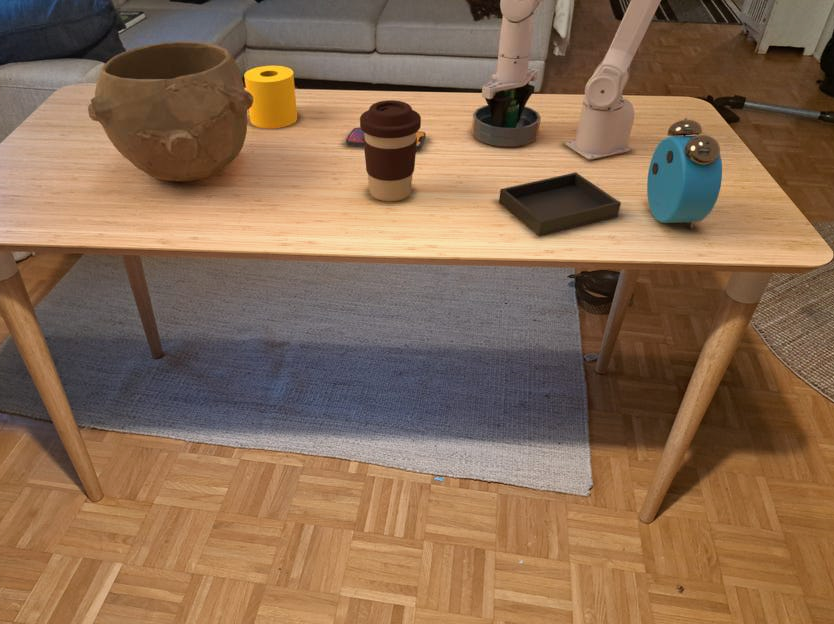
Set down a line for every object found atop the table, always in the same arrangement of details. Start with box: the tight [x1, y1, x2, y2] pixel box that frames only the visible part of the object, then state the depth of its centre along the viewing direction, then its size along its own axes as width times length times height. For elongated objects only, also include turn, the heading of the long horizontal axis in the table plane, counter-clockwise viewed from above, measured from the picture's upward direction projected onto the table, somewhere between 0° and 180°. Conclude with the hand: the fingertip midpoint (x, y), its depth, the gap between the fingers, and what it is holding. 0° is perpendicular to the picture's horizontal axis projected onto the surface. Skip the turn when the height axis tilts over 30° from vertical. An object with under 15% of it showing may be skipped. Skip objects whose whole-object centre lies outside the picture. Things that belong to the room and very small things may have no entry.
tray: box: [498, 171, 622, 237], centre depth 113 cm, size 15×12×2 cm
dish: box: [471, 104, 542, 148], centre depth 136 cm, size 13×13×4 cm
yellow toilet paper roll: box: [243, 65, 298, 129], centre depth 142 cm, size 10×10×9 cm
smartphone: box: [345, 126, 427, 152], centre depth 135 cm, size 7×15×1 cm, turn 75°
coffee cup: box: [359, 99, 422, 202], centre depth 114 cm, size 10×10×15 cm
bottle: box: [504, 88, 520, 128], centre depth 134 cm, size 4×4×9 cm
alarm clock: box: [646, 117, 723, 229], centre depth 106 cm, size 13×6×15 cm, turn 2°
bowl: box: [87, 40, 253, 182], centre depth 121 cm, size 27×29×20 cm
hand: (505, 125), depth 136 cm, fingers closed on bottle, 4 cm apart
